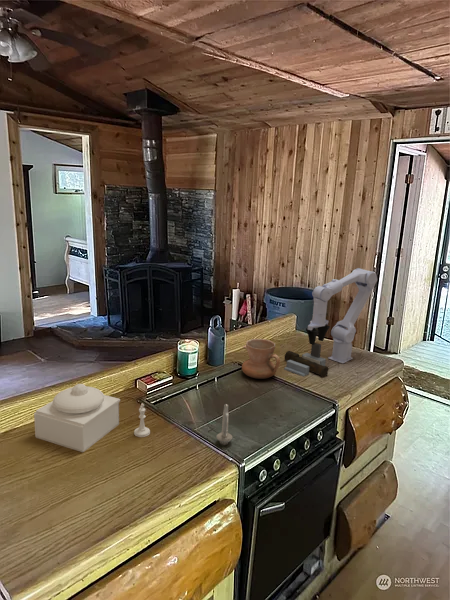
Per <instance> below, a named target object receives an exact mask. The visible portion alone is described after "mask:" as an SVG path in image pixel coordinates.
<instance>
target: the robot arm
mask: <svg viewBox="0 0 450 600" xmlns="http://www.w3.org/2000/svg"><path fill="white" fill-rule="evenodd" d="M377 282H378V276H377V273H376V272H375V271H374V270H373V271H371V270H368V269H365V268H364V269H363V268H360V267H357V268H355V269H353V270H352V272H351V273H349V274H347V275H346V276H344V277H342V278H340V279H334V278H333V279H331V281H329V282H327V283H324V284H323V285H317V286H316V287H315V288H314V289H313V290H312V292H311V295H312V297H313V310H312V319H311V320H310V321H309V324H308V325H307V327H306V328H305V331H306V333H307V336H308V343H309V345H311V346H312V345H314V344H315V343H316V340H317V338H318V340H317V341H320V342H323V341H324V339H325V337H326V334H327V332H328V331H329V329H330V325H329V320H328V319H326V317H327V310H328V301H330V299H331V298H332V297H333V295H336V294H337V293H339V292H342V290H343V287H346V286H348V285H351V284H354V283H355V285H356V286H357V289H358V291H357V293H356V295H355V296H354V299H353V301H352V303H351V304H350V306H349V308H348V310H347V312H346V314H345V315H344V316H343V319H342V320H339V321H337V322H336V323H335V325H334V326H333V327H332V329H331V331H330V335H331V337H332V340H333V344H332V345H333V346H332V352H331V353H332V354H331V356H328V357H327V359H328V360H331V361H334V362H337V363H341V364H345V363H347V362H349V361H351V360H353V357H352V350H353V343H352V342H353V341H354V338H355V335H356V332H357V329H356V327H355V324H356V322H357V320H359V316H360V314H361V313H362V311H363V309H364V307H365V306H366V303H367V301H368V300H369V298H370V296H371V295H372V293H373V292H372V291H373V290H374V287H375V286H376V284H377Z"/></svg>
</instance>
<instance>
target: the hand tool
mask: <svg viewBox="0 0 450 600" xmlns="http://www.w3.org/2000/svg"><path fill="white" fill-rule="evenodd" d="M288 360H292V361H295V362H298V363H301V364H304V365H306V366H309V372H312V373H314V374H316V375H319V376H320V377H321V378H325V377H327V375H328V373H329V366H327V365H325V366H322V365H320V364H318V363H316V362H312V361H309V360H307V359H304V358H302V356H300V353H296V352H294V351H291V350H287V351H286V352H285V354H284V361H285V362H287V361H288Z"/></svg>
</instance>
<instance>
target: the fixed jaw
mask: <svg viewBox="0 0 450 600" xmlns="http://www.w3.org/2000/svg"><path fill="white" fill-rule="evenodd" d="M283 370H284V371H287V372H290V373H293V374H295V375H298V376H301V377H306V376H307V375H309V374H310V371H309V366H306V365H304V364H301V363H298V362H295V361H292V360H288V361H286V366H285V367H284V368H283Z"/></svg>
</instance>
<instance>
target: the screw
mask: <svg viewBox="0 0 450 600" xmlns="http://www.w3.org/2000/svg"><path fill="white" fill-rule="evenodd" d="M229 414H230V413H229V404H227V403H225V404H224V405H223V411H222V421H221V424H222V425H221V432H219V433H218V434H216V440H217V441H219V444H220V445H222V446H227V445H228V444H229V443H230V442H231V441H232V440H233V435H232V434H231V433H229V432H228V431H229V419H230V417H229Z"/></svg>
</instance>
